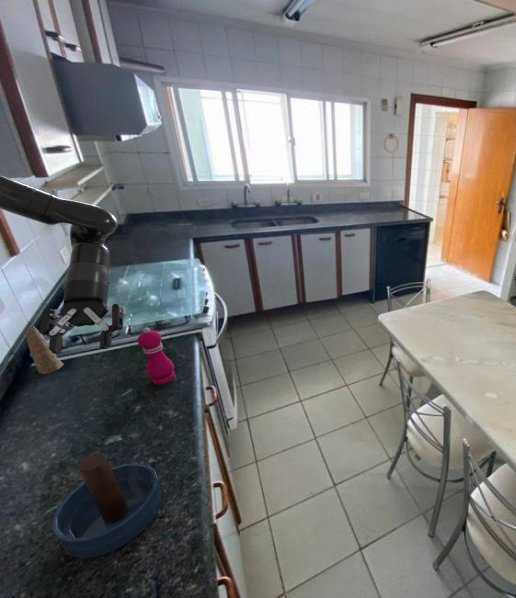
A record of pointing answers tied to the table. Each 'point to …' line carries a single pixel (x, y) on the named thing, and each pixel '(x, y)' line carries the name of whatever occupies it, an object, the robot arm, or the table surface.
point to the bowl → (89, 523)
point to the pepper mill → (156, 357)
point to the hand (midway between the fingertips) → (80, 350)
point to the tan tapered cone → (41, 352)
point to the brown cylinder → (103, 487)
